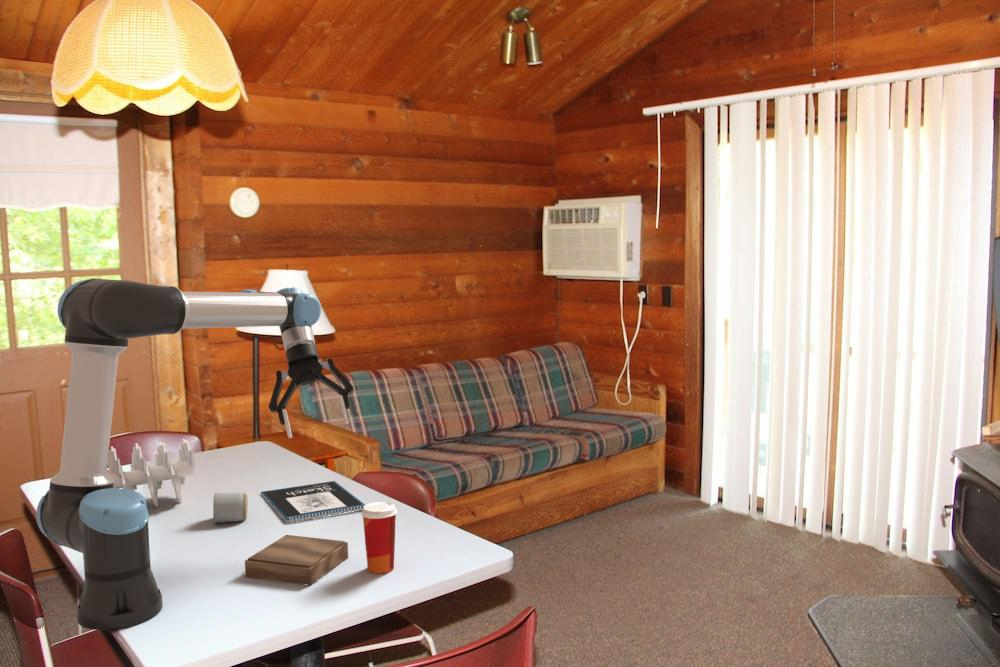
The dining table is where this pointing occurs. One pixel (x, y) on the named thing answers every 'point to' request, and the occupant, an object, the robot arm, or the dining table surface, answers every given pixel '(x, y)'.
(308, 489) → the sketchbook
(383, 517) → the paper cup
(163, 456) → the white spiked piece
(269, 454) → the dining table surface
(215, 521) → the grey cylinder
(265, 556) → the walnut plinth
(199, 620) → the dining table surface
